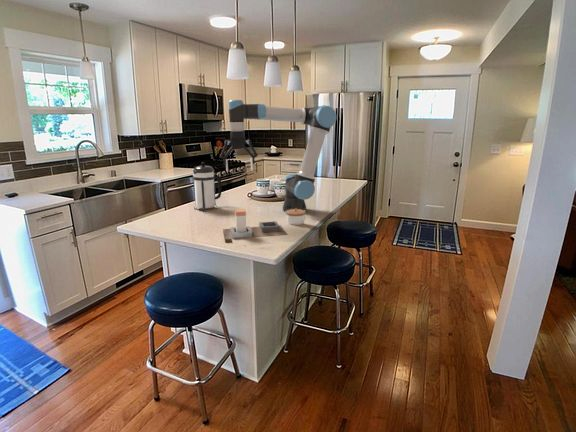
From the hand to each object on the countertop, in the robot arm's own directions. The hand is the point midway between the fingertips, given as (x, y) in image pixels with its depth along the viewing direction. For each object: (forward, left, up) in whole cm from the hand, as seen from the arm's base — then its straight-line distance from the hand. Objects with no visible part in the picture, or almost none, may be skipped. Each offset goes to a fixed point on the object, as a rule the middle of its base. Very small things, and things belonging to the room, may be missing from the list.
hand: (239, 170), depth 184 cm
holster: (-12, +24, -27) cm, 38 cm away
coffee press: (+18, -33, -28) cm, 47 cm away
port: (+3, +30, -27) cm, 41 cm away
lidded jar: (-28, +16, -28) cm, 43 cm away
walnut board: (-4, +27, -28) cm, 39 cm away
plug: (+3, +30, -27) cm, 41 cm away
